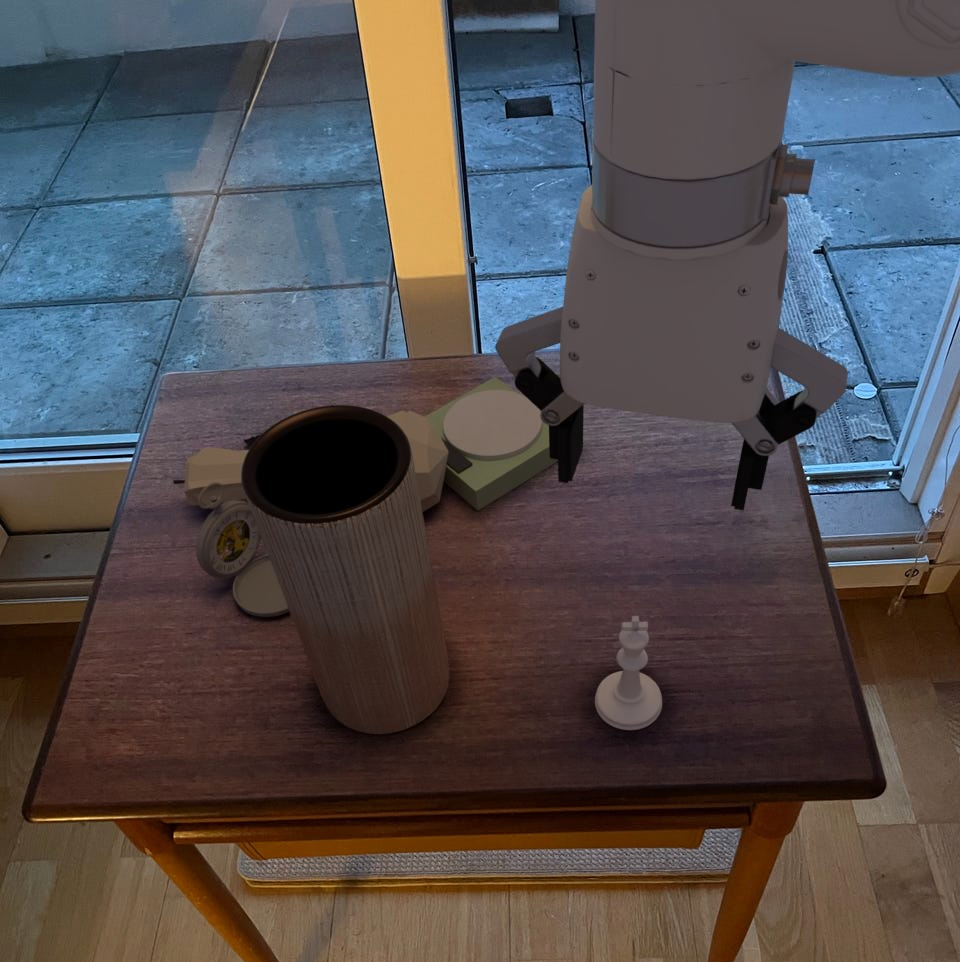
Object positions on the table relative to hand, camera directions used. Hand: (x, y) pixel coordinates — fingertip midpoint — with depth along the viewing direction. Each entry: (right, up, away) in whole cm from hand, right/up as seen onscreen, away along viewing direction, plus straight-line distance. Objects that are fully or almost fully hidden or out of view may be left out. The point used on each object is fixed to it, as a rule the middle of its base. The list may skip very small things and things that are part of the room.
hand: (654, 479), depth 53 cm
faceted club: (-25, +4, +33) cm, 41 cm away
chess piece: (+1, -14, +17) cm, 22 cm away
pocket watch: (-28, -4, +27) cm, 39 cm away
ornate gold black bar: (-29, +11, +38) cm, 48 cm away
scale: (-9, +8, +34) cm, 37 cm away
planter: (-17, -12, +20) cm, 29 cm away
